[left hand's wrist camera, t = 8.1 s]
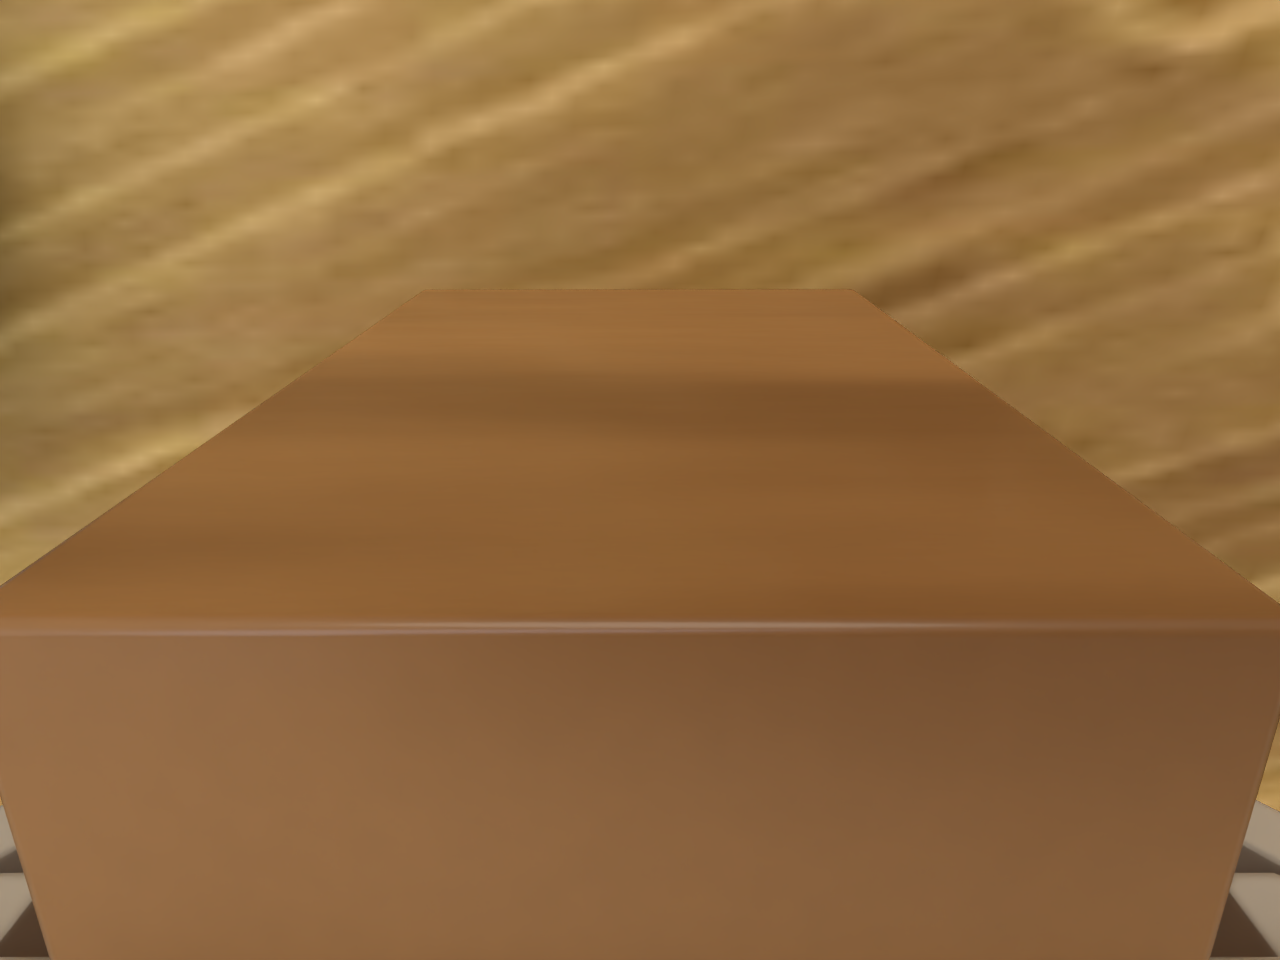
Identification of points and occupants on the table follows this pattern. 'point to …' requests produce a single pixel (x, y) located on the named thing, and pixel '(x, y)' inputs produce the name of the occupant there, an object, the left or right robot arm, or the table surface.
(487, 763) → the box
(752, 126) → the table surface
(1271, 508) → the table surface
